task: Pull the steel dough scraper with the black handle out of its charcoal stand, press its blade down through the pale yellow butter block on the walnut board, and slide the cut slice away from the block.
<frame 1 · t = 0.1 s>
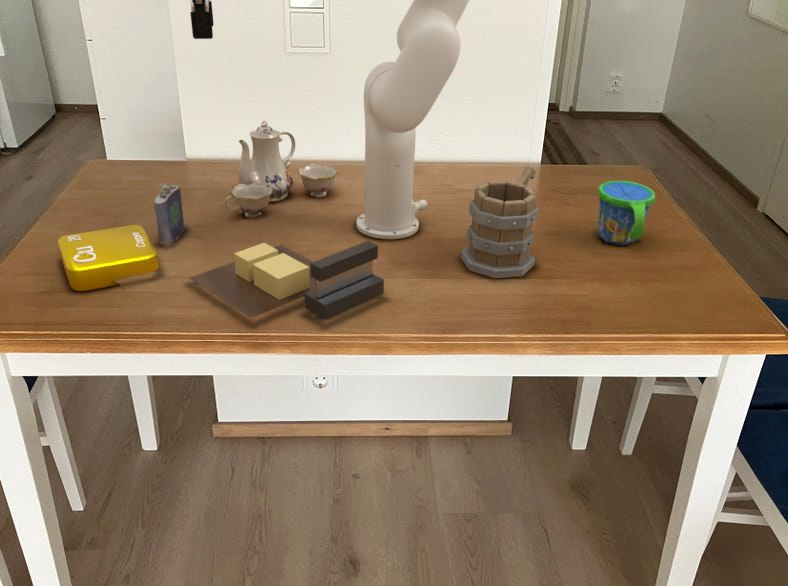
hand: (203, 32, 131), 37 cm above the table, tool pointing down, fingers open, 9 cm apart
scraper: (345, 281, 127), in the scraper stand
scraper stand: (345, 307, 130), on the table
chinaware: (276, 200, 167), on the table
butter: (282, 286, 132), point 1 cm above the table, touching cutting board
element tile: (110, 268, 139), on the table
snack cup: (616, 239, 155), on the table
butter slice: (257, 272, 136), point 1 cm above the table, touching cutting board
tankard: (505, 256, 148), on the table
flask: (172, 238, 150), on the table
cutting board: (268, 285, 135), on the table
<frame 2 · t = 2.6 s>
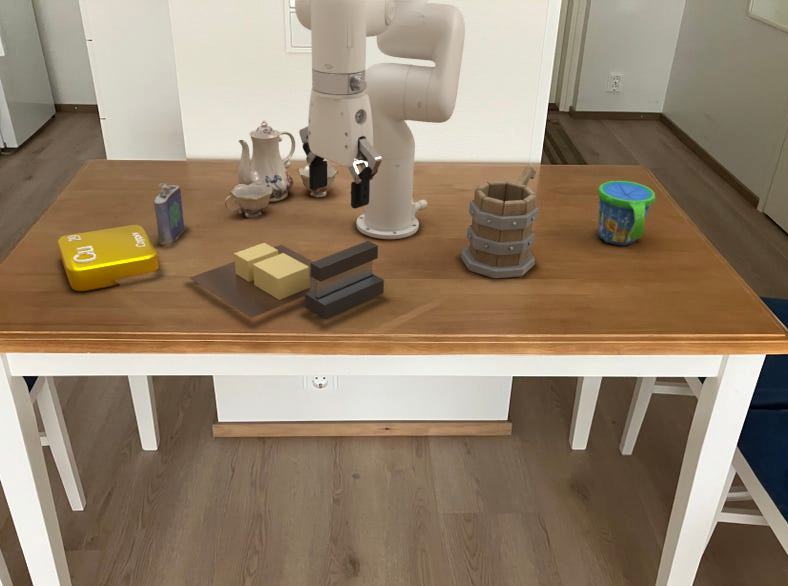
hand: (338, 196, 119), 19 cm above the table, tool pointing down, fingers open, 9 cm apart
nothing on the table moved.
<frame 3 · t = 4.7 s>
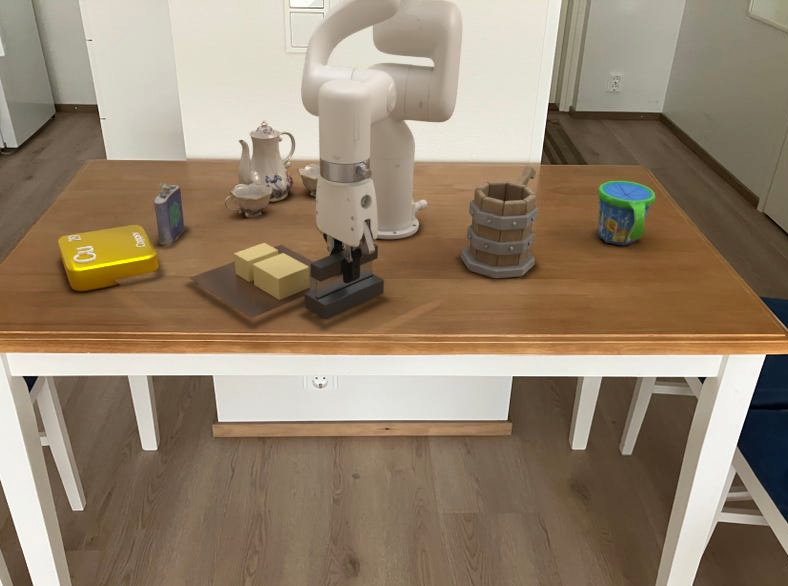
hand: (345, 276, 126), 6 cm above the table, tool pointing down, fingers closed on scraper, 2 cm apart
scraper: (345, 281, 127), in the scraper stand, touching gripper
everything else where it was.
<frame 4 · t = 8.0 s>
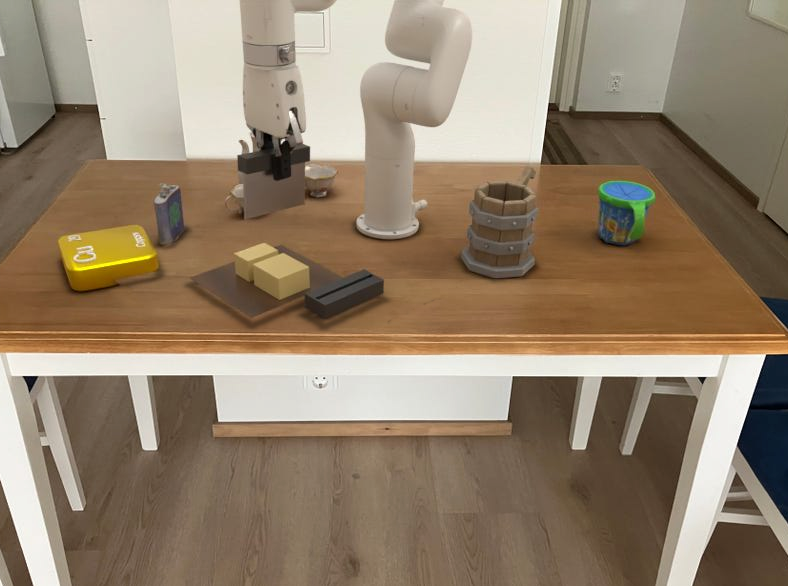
hand: (276, 174, 123), 21 cm above the table, tool pointing down, fingers closed on scraper, 2 cm apart
scraper: (275, 181, 123), point 20 cm above the table, touching gripper
everything else where it was.
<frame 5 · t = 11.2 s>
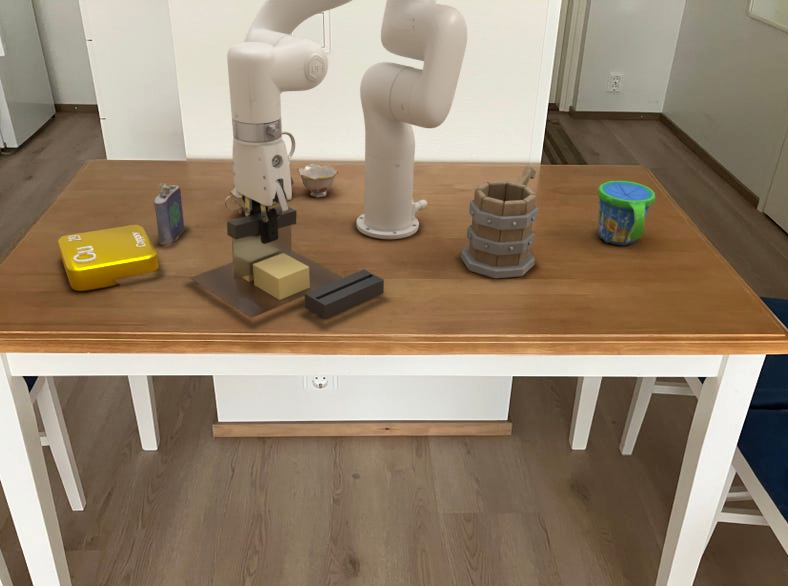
hand: (263, 237, 130), 9 cm above the table, tool pointing down, fingers closed on scraper, 2 cm apart
scraper: (262, 243, 130), point 8 cm above the table, touching gripper
everything else where it was.
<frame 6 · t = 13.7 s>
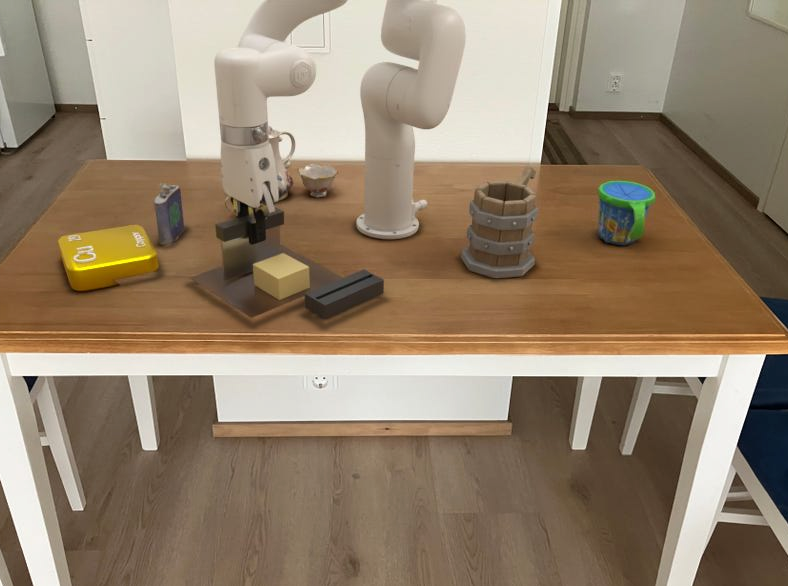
hand: (251, 238, 133), 8 cm above the table, tool pointing down, fingers closed on scraper, 2 cm apart
scraper: (251, 244, 133), point 7 cm above the table, touching butter slice, cutting board, gripper
butter slice: (247, 266, 138), point 2 cm above the table, touching cutting board, scraper
everything else where it was.
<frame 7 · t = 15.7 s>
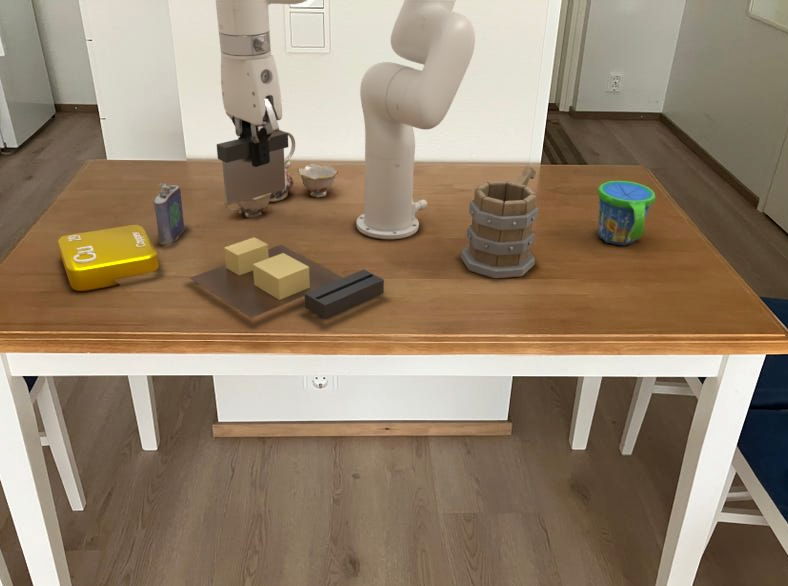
hand: (255, 161, 127), 21 cm above the table, tool pointing down, fingers closed on scraper, 2 cm apart
scraper: (254, 168, 128), point 20 cm above the table, touching gripper
butter slice: (247, 266, 138), point 1 cm above the table, touching cutting board
everything else where it was.
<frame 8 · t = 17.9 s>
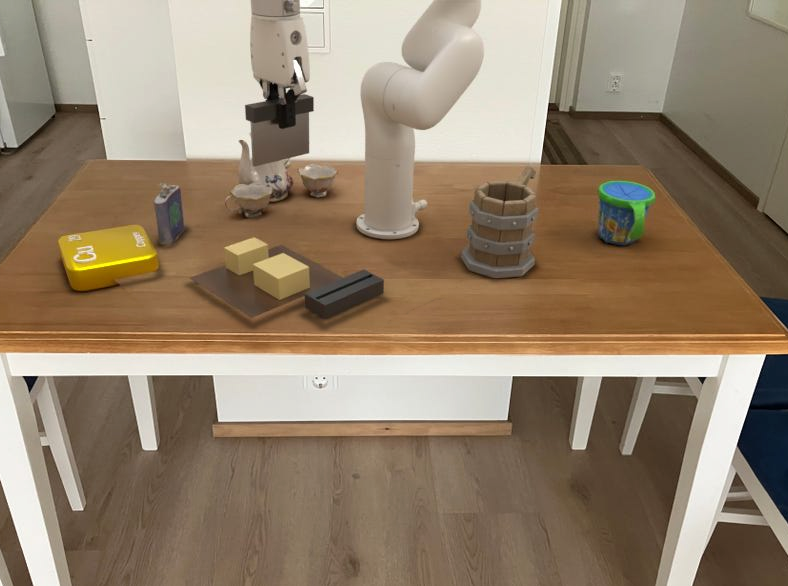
hand: (281, 123, 130), 25 cm above the table, tool pointing down, fingers closed on scraper, 2 cm apart
scraper: (280, 130, 130), point 24 cm above the table, touching gripper
everything else where it was.
at the end: butter slice 0.8 cm from the target spot on the table beside the butter, resting on cutting board; butter moved 0.0 cm from its start; the gripper is holding scraper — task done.
